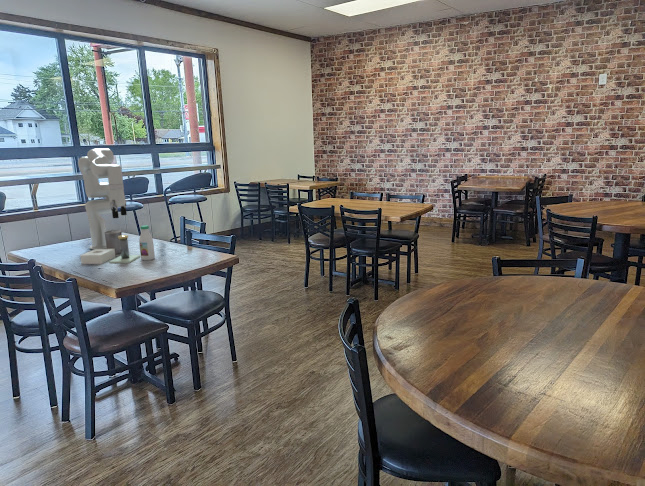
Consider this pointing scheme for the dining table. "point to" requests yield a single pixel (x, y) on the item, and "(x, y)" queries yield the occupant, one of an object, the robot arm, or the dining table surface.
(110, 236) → the grey bin
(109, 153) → the robot arm
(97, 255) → the block
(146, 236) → the milk bottle
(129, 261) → the pad
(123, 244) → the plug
